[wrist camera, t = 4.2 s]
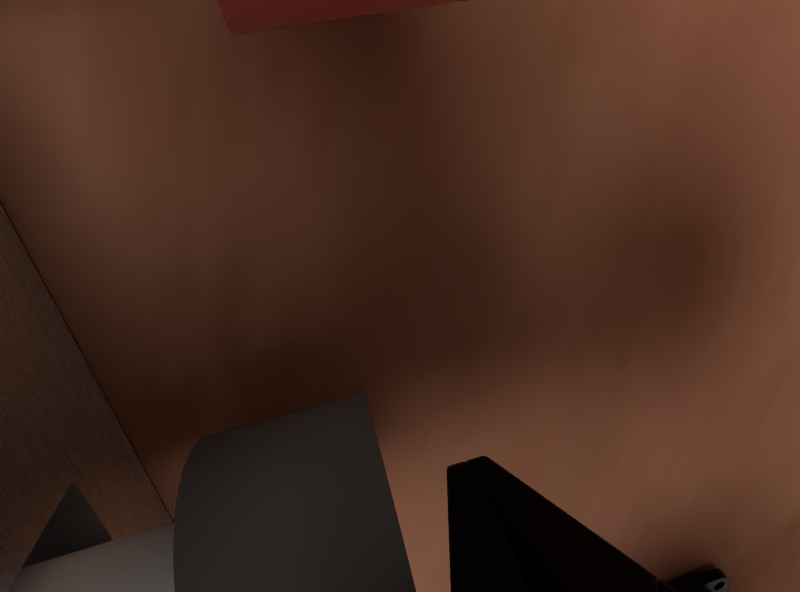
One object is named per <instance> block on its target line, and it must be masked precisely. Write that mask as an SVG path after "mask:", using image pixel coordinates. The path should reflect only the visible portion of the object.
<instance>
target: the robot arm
mask: <svg viewBox="0 0 800 592" xmlns="http://www.w3.org/2000/svg"><path fill="white" fill-rule="evenodd" d="M447 496H448V524H449V552H450V581H451V592H727V591H728V587H729V582H730V580H729V578H728V577H727V576H726V575H725V574H724V573H723V572H722V571H721V570H720V569H718V568H715V569H711V570H709V571H706V572H704V573H701V574H698V575H696V576H693V577H691V578H688V579H685V580H683V581H680V582H678V583H675V584H672V585H670V586H669V585H668V584H666V583H665V582H663V581H661V580H660V581H659V582H658V579H657V577H656V576H655V575H653V574H652V573H650V572H649V571H648V570H646V569H645V568H643V567H642V566H641V565H639V564H638V563H636V562H635V561H634V560H632V559H631V558H629V557H628V556H627V555H625V554H624V553H622V552H621V551H619V550H618V549H617V548H615V547H614V546H612V545H611V544H610V543H608V542H607V541H605V540H604V539H603V538H601V537H600V536H598V535H597V534H596V533H594V532H593V531H591V530H590V529H588V528H587V527H586V526H584V525H583V524H581V523H580V522H579V521H577V520H576V519H574V518H573V517H572V516H570V515H569V514H567V513H566V512H564V511H563V510H562V509H560V508H559V507H557V506H556V505H555V504H553V503H552V502H550V501H549V500H548V499H546V498H545V497H543V496H542V495H541V494H539V493H538V492H536V491H535V490H533V489H532V488H531V487H529V486H528V485H526V484H525V483H524V482H522V481H521V480H519V479H518V478H517V477H515V476H514V475H512V474H511V473H510V472H508V471H507V470H505V469H504V468H502V467H501V466H500V465H498V464H497V463H495V462H494V461H493V460H491V459H490V458H488V457H486V456H480V457H477V458H473V459H470V460H468V461H466V462H460V463H457V464H454V465H450V466H448V467H447Z"/></svg>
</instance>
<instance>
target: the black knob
mask: <svg viewBox="0 0 800 592" xmlns="http://www.w3.org/2000/svg"><path fill="white" fill-rule="evenodd" d="M7 592H416V589H415V585H414V581H413V577H412V573H411V569H410V565H409V561H408V557H407V553H406V549H405V545H404V541H403V537H402V533H401V529H400V526H399V522H398V518H397V514H396V510H395V506H394V502H393V498H392V494H391V490H390V487H389V483H388V479H387V475H386V471H385V467H384V463H383V460H382V456H381V452H380V448H379V444H378V441H377V437H376V433H375V429H374V426H373V422H372V418H371V415H370V411H369V407H368V404H367V400H366V397H365V394H364V392H363V393H359V394H355V395H352V396H348V397H345V398H341V399H337V400H334V401H330V402H327V403H323V404H319V405H316V406H312V407H309V408H305V409H302V410H298V411H294V412H291V413H287V414H284V415H280V416H276V417H273V418H269V419H266V420H262V421H258V422H255V423H251V424H248V425H244V426H240V427H237V428H233V429H230V430H226V431H222V432H219V433H215V434H212V435H208V436H205V437H202V438H201V439H200V440H199V441H197V443H196V444H195V445H194V447H193V448H192V450H191V452H190V454H189V456H188V458H187V460H186V463H185V466H184V469H183V472H182V476H181V480H180V484H179V490H178V496H177V501H176V511H175V520H174V522H172V523H169V524H166V525H162V526H159V527H156V528H152V529H149V530H146V531H142V532H139V533H136V534H133V535H129V536H126V537H123V538H119V539H116V540H113V541H109V542H106V543H103V544H100V545H96V546H93V547H90V548H86V549H83V550H80V551H76V552H73V553H70V554H67V555H63V556H60V557H57V558H53V559H50V560H47V561H43V562H40V563H37V564H34V565H30V566H27V567H24V568H21V569H20V570H19V572H18V574H17V575H16V577H15V579H14V580H13V582H12V584H11V585H10V587H9V589H8V590H7Z"/></svg>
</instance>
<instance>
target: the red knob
mask: <svg viewBox="0 0 800 592" xmlns="http://www.w3.org/2000/svg"><path fill="white" fill-rule="evenodd" d="M217 1H218V3H219V6H220V8H221V11H222V13H223V15H224V18H225V20H226V22H227V24H228V26H229V28H230V30H231V32H232V33H233V34H234V35H235V34H242V33H249V32H255V31H262V30H269V29H276V28H283V27H289V26H296V25H303V24H310V23H316V22H323V21H330V20H337V19H343V18H350V17H357V16H364V15H370V14H377V13H384V12H391V11H398V10H404V9H411V8H418V7H425V6H431V5H438V4H445V3H452V2H458V1H465V0H217Z"/></svg>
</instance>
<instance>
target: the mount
mask: <svg viewBox="0 0 800 592" xmlns="http://www.w3.org/2000/svg"><path fill="white" fill-rule="evenodd" d="M169 523H172V520H171V518H170V516H169V514H168V512H167V511H166V509H165V507H164V505H163V503H162V501H161V500H160V498H159V496H158V494H157V492H156V490H155V488H154V487H153V485H152V483H151V481H150V479H149V477H148V476H147V474H146V472H145V470H144V468H143V466H142V464H141V463H140V461H139V459H138V457H137V455H136V453H135V451H134V450H133V448H132V446H131V444H130V442H129V440H128V439H127V437H126V435H125V433H124V431H123V429H122V427H121V426H120V424H119V422H118V420H117V418H116V416H115V415H114V413H113V411H112V409H111V407H110V405H109V403H108V402H107V400H106V398H105V396H104V394H103V392H102V390H101V389H100V387H99V385H98V383H97V381H96V379H95V378H94V376H93V374H92V372H91V370H90V368H89V366H88V365H87V363H86V361H85V359H84V357H83V355H82V354H81V352H80V350H79V348H78V346H77V344H76V342H75V341H74V339H73V337H72V335H71V333H70V331H69V329H68V328H67V326H66V324H65V322H64V320H63V318H62V317H61V315H60V313H59V311H58V309H57V307H56V305H55V304H54V302H53V300H52V298H51V296H50V294H49V293H48V291H47V289H46V287H45V285H44V283H43V281H42V280H41V278H40V276H39V274H38V272H37V270H36V268H35V267H34V265H33V263H32V261H31V259H30V257H29V256H28V254H27V252H26V250H25V248H24V246H23V244H22V243H21V241H20V239H19V237H18V235H17V233H16V231H15V230H14V228H13V226H12V224H11V222H10V220H9V219H8V217H7V215H6V213H5V211H4V209H3V207H2V206H1V204H0V592H7V590H8V589H9V587H10V585H11V584H12V582H13V580H14V579H15V577H16V575H17V574H18V572H19V570H20V569H21V568H24V567H27V566H30V565H34V564H37V563H40V562H43V561H47V560H50V559H53V558H57V557H60V556H63V555H67V554H70V553H73V552H76V551H80V550H83V549H86V548H90V547H93V546H96V545H100V544H103V543H106V542H109V541H113V540H116V539H119V538H123V537H126V536H129V535H133V534H136V533H139V532H142V531H146V530H149V529H152V528H156V527H159V526H162V525H166V524H169Z"/></svg>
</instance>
